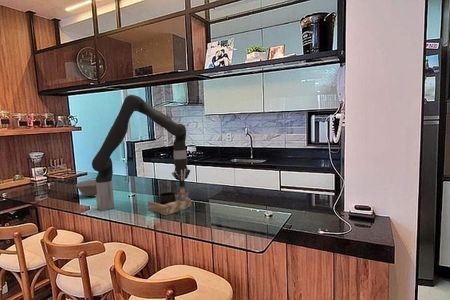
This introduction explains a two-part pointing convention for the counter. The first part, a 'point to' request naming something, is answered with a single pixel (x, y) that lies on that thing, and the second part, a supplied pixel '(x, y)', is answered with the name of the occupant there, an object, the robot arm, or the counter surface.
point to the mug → (167, 197)
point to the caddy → (171, 205)
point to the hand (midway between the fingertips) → (182, 186)
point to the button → (182, 191)
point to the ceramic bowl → (87, 187)
